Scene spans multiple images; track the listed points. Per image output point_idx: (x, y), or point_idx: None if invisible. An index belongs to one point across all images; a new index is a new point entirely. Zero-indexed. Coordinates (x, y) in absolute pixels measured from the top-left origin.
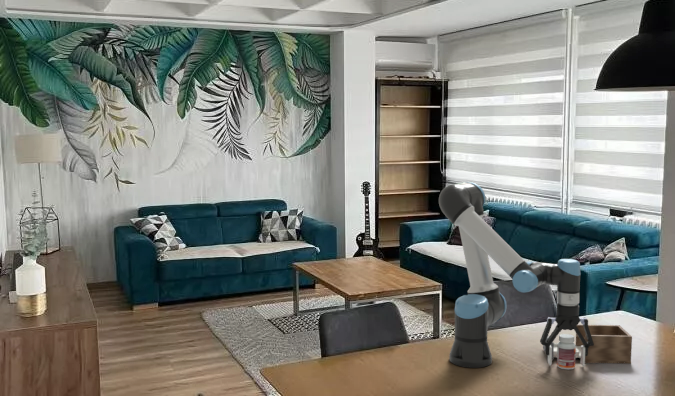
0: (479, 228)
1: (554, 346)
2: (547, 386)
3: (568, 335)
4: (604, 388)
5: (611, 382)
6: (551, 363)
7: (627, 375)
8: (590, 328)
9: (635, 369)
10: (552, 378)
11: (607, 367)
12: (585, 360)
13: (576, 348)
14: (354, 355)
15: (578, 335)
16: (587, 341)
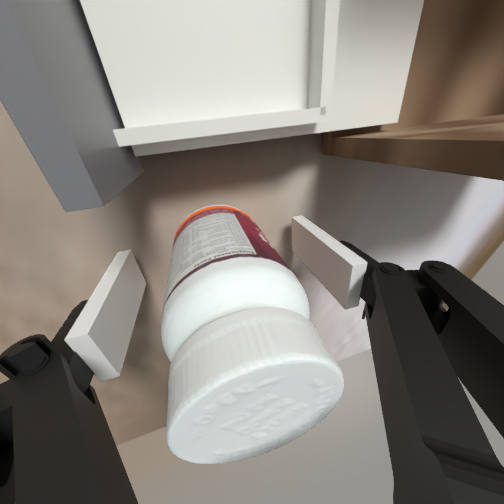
0: None
1: None
2: (157, 412)
3: (290, 391)
4: None
5: (338, 327)
6: (144, 289)
7: (407, 263)
8: None
9: (467, 198)
10: (166, 364)
11: (388, 201)
12: (329, 154)
13: (337, 2)
14: None
15: (387, 419)
16: (450, 170)
